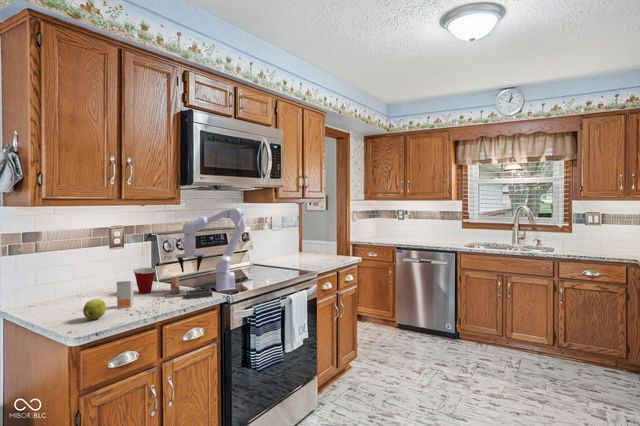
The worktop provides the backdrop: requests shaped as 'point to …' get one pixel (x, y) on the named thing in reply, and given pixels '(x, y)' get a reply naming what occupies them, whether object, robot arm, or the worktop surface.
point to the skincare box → (125, 293)
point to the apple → (94, 309)
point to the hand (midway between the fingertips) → (190, 271)
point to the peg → (174, 285)
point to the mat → (175, 295)
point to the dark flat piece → (199, 293)
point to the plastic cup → (144, 279)
